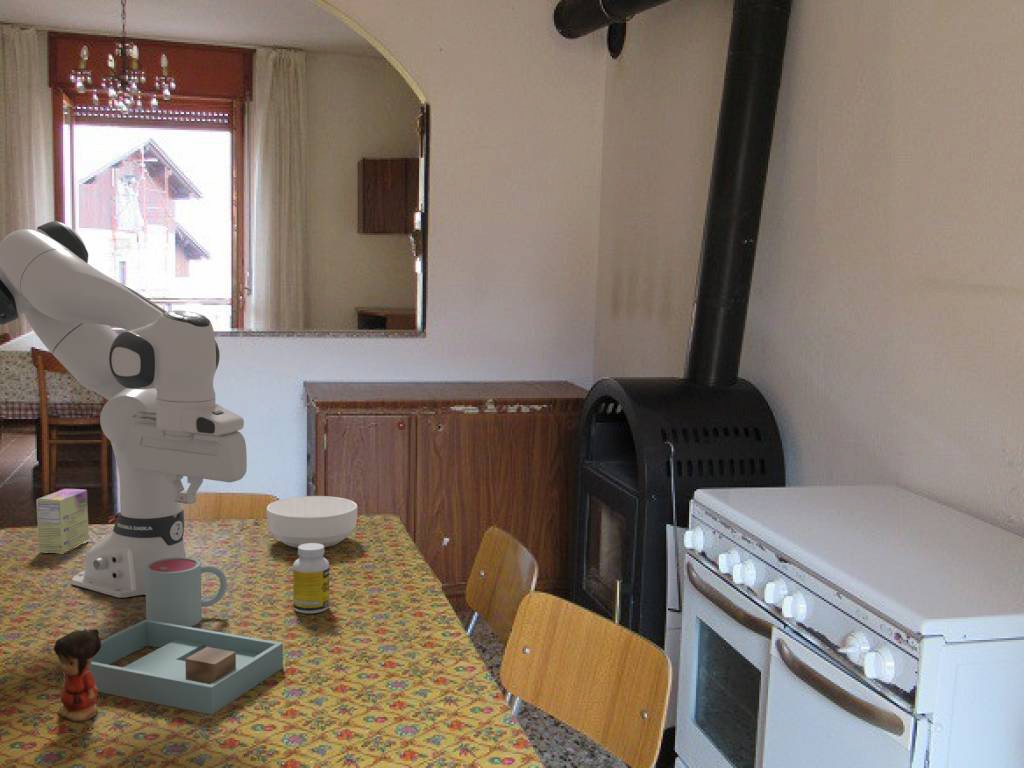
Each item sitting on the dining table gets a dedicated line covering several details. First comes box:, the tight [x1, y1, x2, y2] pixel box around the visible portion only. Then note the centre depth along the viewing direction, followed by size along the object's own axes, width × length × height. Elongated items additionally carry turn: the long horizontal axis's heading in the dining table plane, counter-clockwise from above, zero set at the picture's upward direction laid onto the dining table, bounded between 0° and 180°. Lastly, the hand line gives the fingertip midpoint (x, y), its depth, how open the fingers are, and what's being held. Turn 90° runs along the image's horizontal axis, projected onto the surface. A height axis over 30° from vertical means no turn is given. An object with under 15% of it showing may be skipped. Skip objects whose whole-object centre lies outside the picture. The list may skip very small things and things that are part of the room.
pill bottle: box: [292, 543, 330, 615], centre depth 187 cm, size 6×6×12 cm
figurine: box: [53, 628, 101, 723], centre depth 143 cm, size 6×6×12 cm
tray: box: [63, 619, 284, 716], centre depth 157 cm, size 26×18×4 cm
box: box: [35, 488, 90, 554], centre depth 222 cm, size 10×6×12 cm, turn 172°
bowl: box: [266, 495, 358, 549], centre depth 229 cm, size 20×20×8 cm
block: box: [185, 647, 236, 684], centre depth 150 cm, size 5×5×4 cm
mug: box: [145, 556, 228, 627], centre depth 181 cm, size 14×9×10 cm
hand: (185, 502), depth 164 cm, fingers closed
